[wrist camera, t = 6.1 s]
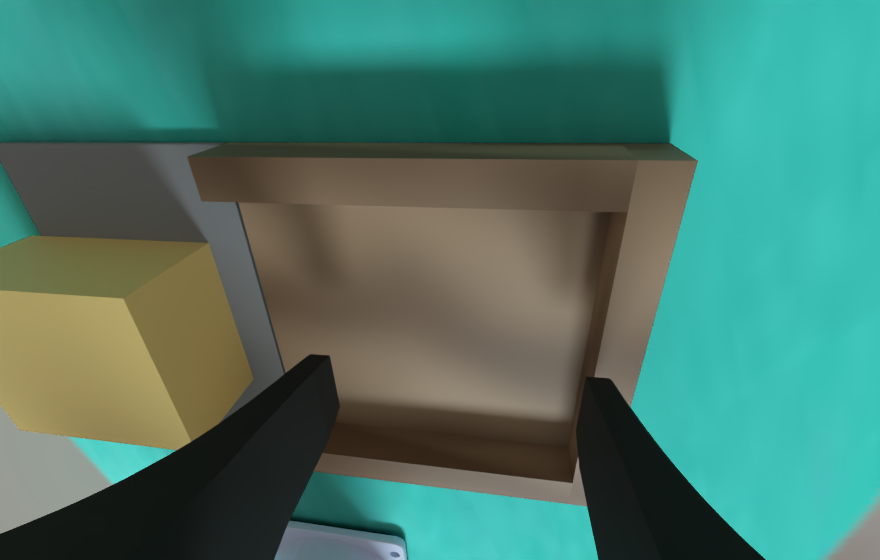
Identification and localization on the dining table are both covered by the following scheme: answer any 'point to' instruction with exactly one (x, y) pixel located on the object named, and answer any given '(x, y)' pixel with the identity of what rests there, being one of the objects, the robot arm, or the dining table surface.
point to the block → (117, 340)
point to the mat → (148, 219)
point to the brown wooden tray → (459, 292)
